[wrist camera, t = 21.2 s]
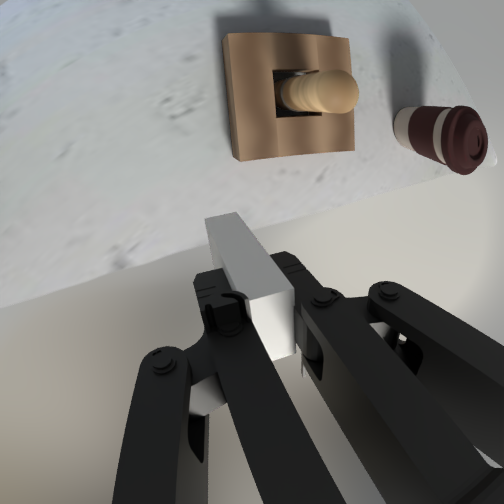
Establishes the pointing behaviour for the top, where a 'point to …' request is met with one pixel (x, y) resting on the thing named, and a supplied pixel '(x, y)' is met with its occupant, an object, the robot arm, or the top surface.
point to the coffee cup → (444, 135)
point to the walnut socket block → (263, 100)
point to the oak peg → (317, 92)
